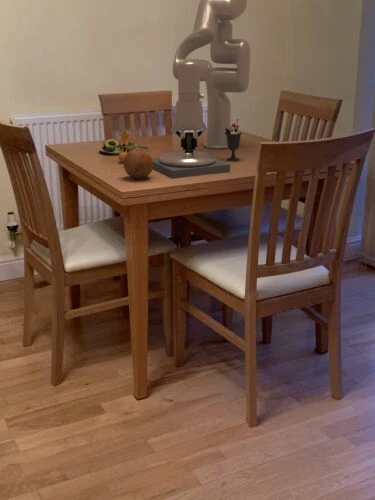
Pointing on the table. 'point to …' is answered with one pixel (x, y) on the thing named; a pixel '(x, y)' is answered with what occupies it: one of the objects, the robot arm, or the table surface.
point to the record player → (187, 156)
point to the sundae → (233, 140)
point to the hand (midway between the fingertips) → (189, 148)
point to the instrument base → (190, 169)
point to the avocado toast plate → (117, 147)
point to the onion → (138, 163)
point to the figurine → (125, 136)
